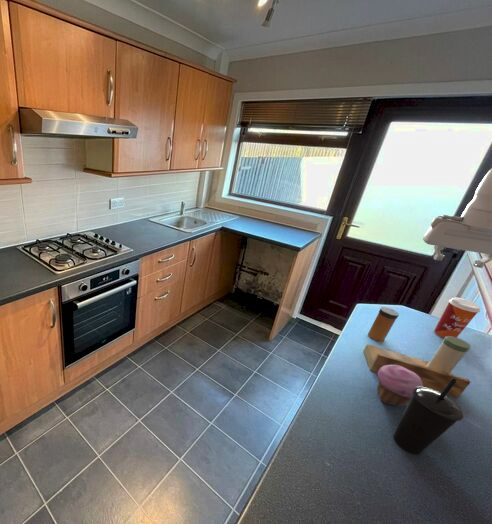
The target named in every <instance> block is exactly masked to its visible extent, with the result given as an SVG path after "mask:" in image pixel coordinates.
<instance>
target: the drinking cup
mask: <svg viewBox="0 0 492 524" xmlns="http://www.w3.org/2000/svg"><path fill="white" fill-rule="evenodd" d="M456 382H457V380H456V379H453V378H452V380H451V381H450V382H449V384H448V385H447V386H446V388H445V389H444V390H443V392H442V393H441V392H438V391H435V390H433V389H430V388H426V387H416V388H414V389H413V392H412V393H413V395H412V397H411V399H410V401H409V403H407V406H406V408H405V410H404V412H403V414H402V416H401V418H400V420H399V423H398V424H397V426H396V429H395V431H394V433H393V435H392V438H393V440H394V442H395V443H396V444H397V446H398V447H400V448H401V449H402V450H404V451H405V452H407V453H409V454H411V455H420V454H421V453H422V452H423V451H425V450H426V449H427V448H428V447H430V445H431V444H433V443H434V442H435V441H436V440H437V439H438V438H440V436H442V435H443V434H444V433H445V432H446V431H447V430H448V429H449V428H451V427H452V426H453V425H454V424H455V423H457V422H459V421H462V420H463V419H464V417H465V414H464V411H463V409H462V408H461V406H459V405H458V404H457V403H456V402H455V401H454V400H453V399H451V398H450V397H448V396H447V395H448V394H447V393H448V392H449V391H450V389H451V388H452V387H453V386H454V384H455V383H456Z"/></svg>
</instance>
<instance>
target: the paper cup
mask: <svg viewBox="0 0 492 524" xmlns="http://www.w3.org/2000/svg"><path fill="white" fill-rule="evenodd" d="M480 312H481V306H480V305H479V304H478V303H476V302H474V301H472V300H469V299H466V298H463V297H455V296H454V297H451V298H450V299H448V303H447V305H446V307H445V309H444V311H443V313H442V315H441V317H440V319H439V320H438V322H437V324H436V326H435V328H434V330H433V333H435V335H437V336H439V337H440V338H443V339H444V338H445V337H446V336H453V337H456V338H459V335H460V334H461V333H462V332H463V331H464V330H465V328H467V326H468V325H469V323H471V321H472V320H473V319H474V318H475V316H476V315H477V314H478V313H480Z"/></svg>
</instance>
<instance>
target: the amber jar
mask: <svg viewBox="0 0 492 524" xmlns="http://www.w3.org/2000/svg"><path fill="white" fill-rule="evenodd" d="M399 315H400V314H399V312H398V311H396V310H394V309H392V308H391V307H385V306H383V307H380V308H379V311H378V313H377V316H376V317H375V319H374V321H373V323H372V325H371V327H370V329H369V331H368V333H367V336H368V337H369V338H370V339H372V340H373V341H375V342H380V343H383V342H385V340H386V338H387V336H388V334H389V333H390V331H391V329H392V327H393V325H394V324H395V322H396V320H397V319H398V317H399Z"/></svg>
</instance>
